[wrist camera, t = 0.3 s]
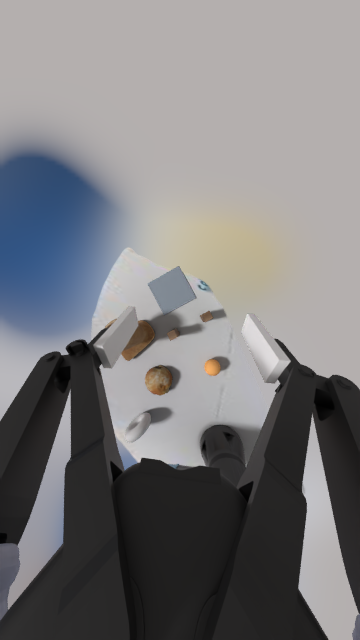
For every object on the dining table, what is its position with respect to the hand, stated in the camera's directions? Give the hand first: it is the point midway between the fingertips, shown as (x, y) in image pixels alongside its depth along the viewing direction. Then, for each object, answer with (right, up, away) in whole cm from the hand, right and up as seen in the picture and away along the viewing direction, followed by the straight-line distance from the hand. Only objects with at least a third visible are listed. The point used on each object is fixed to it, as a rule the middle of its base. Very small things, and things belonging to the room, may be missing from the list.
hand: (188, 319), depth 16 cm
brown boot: (-19, -7, +36) cm, 41 cm away
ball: (+10, -17, +31) cm, 37 cm away
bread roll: (-9, -23, +36) cm, 43 cm away
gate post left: (-3, -5, +35) cm, 35 cm away
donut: (-16, -38, +36) cm, 54 cm away
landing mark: (-4, +11, +35) cm, 37 cm away
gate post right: (+8, +1, +34) cm, 35 cm away
